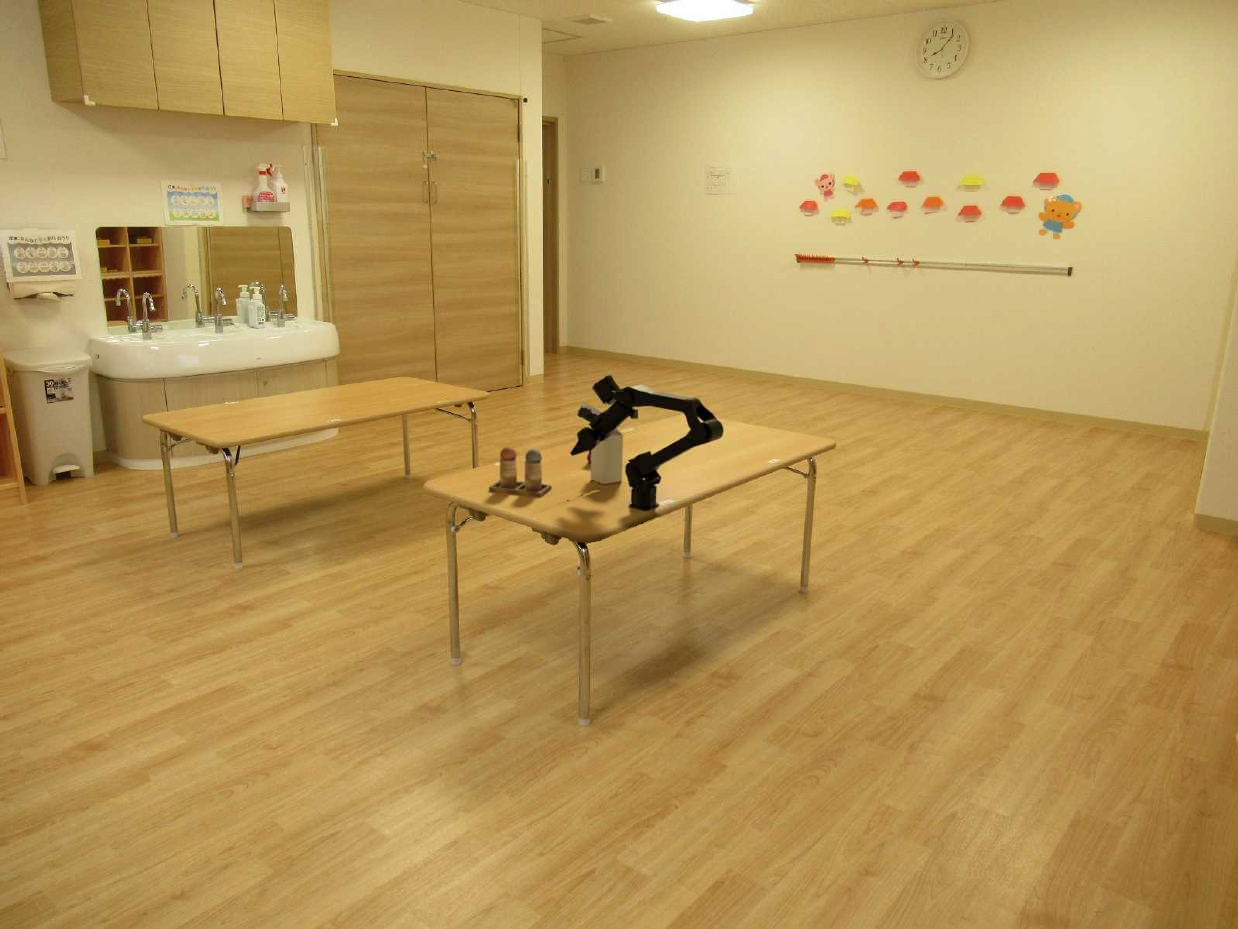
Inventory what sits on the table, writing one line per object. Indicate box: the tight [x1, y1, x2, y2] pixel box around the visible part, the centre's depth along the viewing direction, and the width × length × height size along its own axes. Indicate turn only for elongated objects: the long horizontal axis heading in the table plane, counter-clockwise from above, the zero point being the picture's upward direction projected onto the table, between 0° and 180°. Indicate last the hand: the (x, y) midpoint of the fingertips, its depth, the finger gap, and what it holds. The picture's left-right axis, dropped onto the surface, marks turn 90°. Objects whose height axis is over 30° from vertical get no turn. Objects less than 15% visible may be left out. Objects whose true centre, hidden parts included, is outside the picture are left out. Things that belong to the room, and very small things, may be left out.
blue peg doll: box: [524, 448, 543, 492], centre depth 265 cm, size 5×5×13 cm
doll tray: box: [488, 479, 553, 498], centre depth 267 cm, size 16×9×2 cm, turn 74°
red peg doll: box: [499, 446, 518, 489], centre depth 266 cm, size 5×5×13 cm
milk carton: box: [590, 427, 624, 485], centre depth 279 cm, size 7×7×19 cm
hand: (576, 450), depth 262 cm, fingers open, 9 cm apart
